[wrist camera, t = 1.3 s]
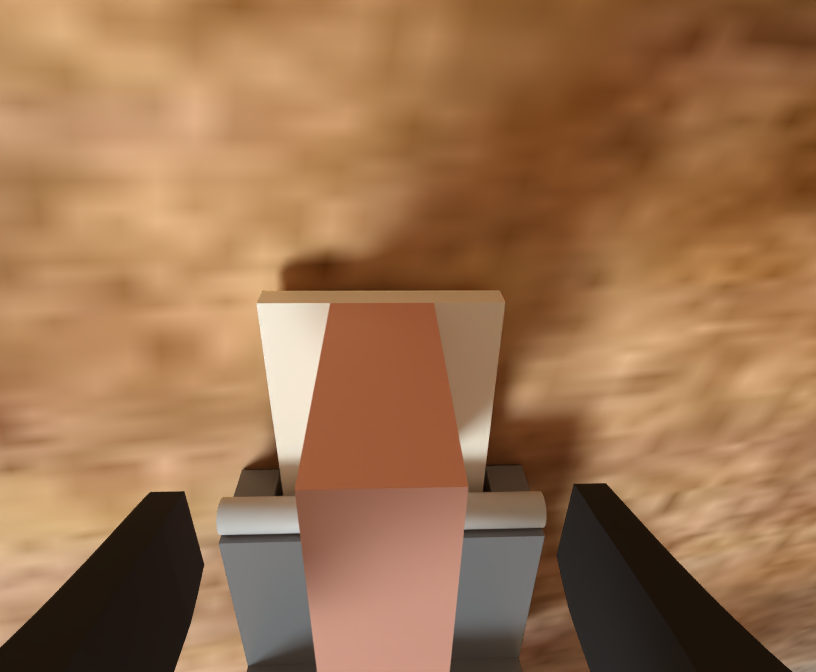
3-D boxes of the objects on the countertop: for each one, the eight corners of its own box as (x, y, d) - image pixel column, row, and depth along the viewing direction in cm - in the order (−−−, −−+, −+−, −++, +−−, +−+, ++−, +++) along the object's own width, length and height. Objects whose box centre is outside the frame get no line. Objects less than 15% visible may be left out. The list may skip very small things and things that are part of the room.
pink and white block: (459, 642, 21) (488, 870, 16) (309, 646, 21) (281, 881, 15) (499, 290, 14) (587, 484, 8) (262, 291, 13) (169, 492, 8)
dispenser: (495, 628, 22) (530, 816, 17) (273, 635, 21) (238, 829, 16) (525, 443, 17) (589, 628, 12) (238, 448, 16) (172, 641, 11)
